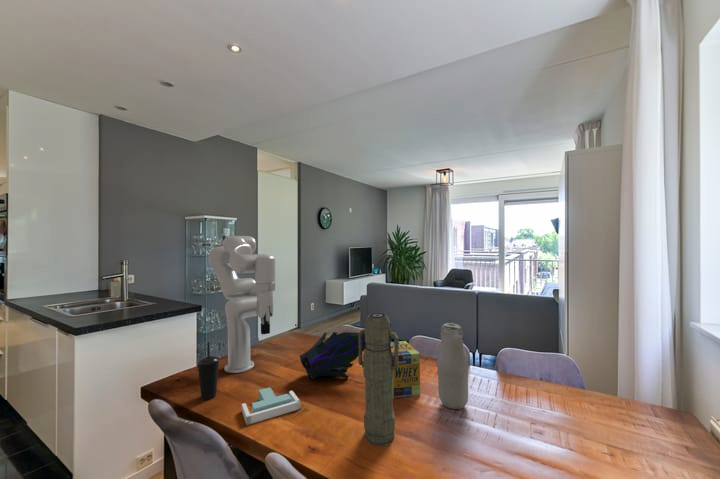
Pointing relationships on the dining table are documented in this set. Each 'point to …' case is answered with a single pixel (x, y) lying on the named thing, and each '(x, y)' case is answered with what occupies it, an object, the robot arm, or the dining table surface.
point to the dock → (271, 410)
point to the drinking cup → (208, 375)
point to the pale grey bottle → (452, 367)
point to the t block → (269, 400)
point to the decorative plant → (332, 355)
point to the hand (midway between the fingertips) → (265, 333)
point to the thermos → (378, 378)
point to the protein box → (406, 372)
